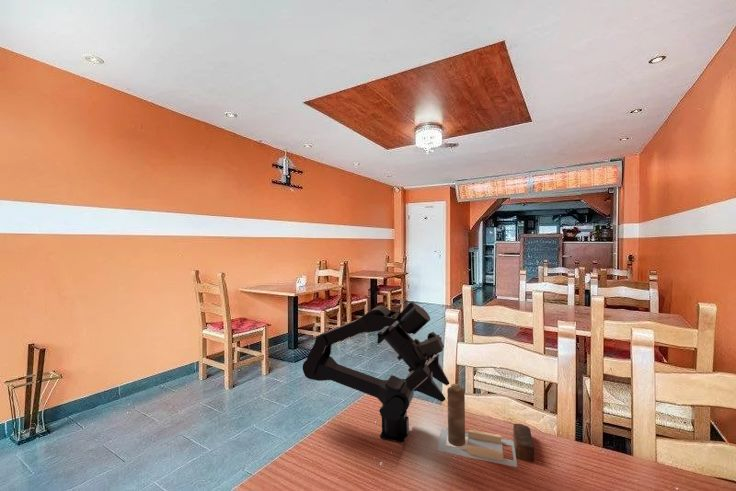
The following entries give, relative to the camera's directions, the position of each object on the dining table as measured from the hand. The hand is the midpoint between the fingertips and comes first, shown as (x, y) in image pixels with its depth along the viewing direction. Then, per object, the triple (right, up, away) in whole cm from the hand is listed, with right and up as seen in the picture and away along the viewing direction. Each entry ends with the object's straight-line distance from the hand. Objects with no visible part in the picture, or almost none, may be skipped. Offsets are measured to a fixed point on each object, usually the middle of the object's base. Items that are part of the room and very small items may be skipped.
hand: (446, 392), depth 82 cm
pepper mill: (+2, -12, -1) cm, 12 cm away
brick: (+18, -14, -3) cm, 23 cm away
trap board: (+7, -13, -2) cm, 15 cm away
